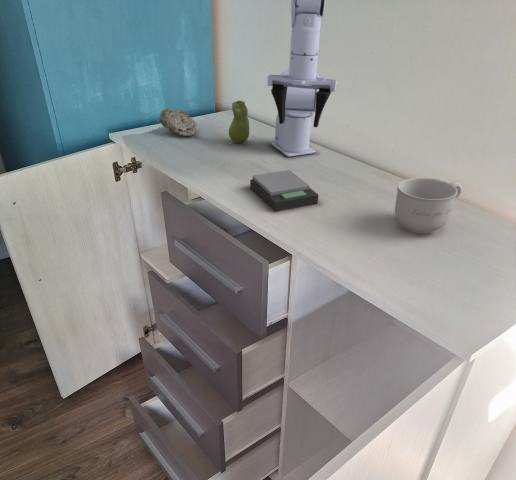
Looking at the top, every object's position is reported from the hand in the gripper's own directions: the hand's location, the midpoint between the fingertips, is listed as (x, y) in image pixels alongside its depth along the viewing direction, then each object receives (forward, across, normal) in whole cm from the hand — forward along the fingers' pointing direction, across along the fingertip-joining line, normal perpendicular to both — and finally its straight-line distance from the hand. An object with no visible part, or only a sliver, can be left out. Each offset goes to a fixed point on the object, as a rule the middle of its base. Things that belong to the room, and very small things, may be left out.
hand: (298, 124), depth 111 cm
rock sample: (+9, -34, +16) cm, 39 cm away
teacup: (+12, +30, -17) cm, 37 cm away
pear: (+9, -18, +14) cm, 24 cm away
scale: (+11, 0, -14) cm, 18 cm away
